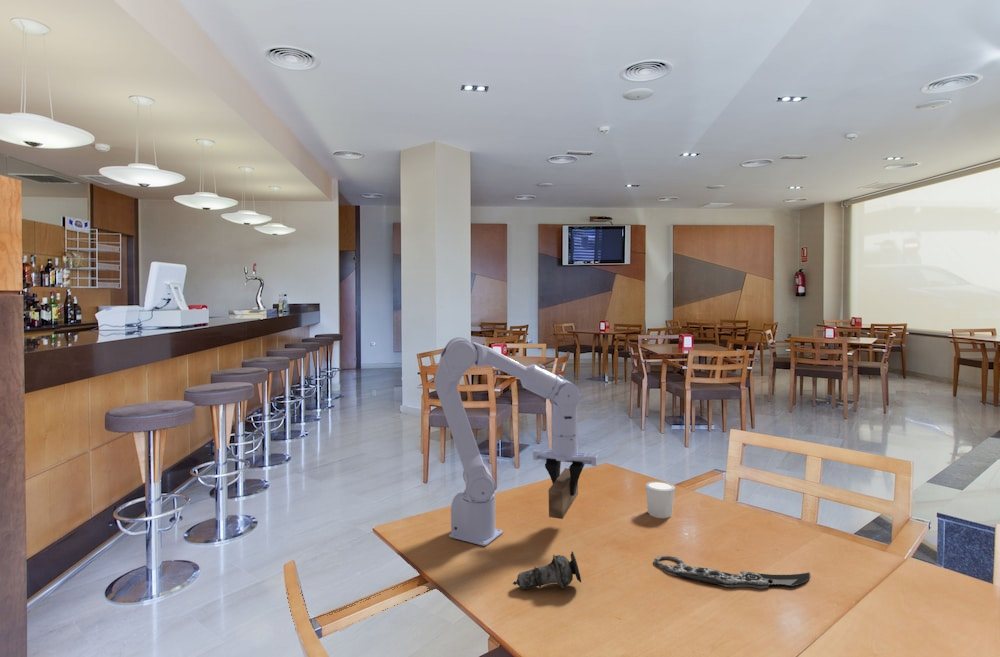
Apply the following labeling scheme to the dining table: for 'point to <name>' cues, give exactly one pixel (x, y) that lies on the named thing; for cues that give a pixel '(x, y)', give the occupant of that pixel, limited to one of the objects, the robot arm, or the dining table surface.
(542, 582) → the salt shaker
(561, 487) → the dark wooden brick
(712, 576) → the knife
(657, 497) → the white cylinder
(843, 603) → the dining table surface
